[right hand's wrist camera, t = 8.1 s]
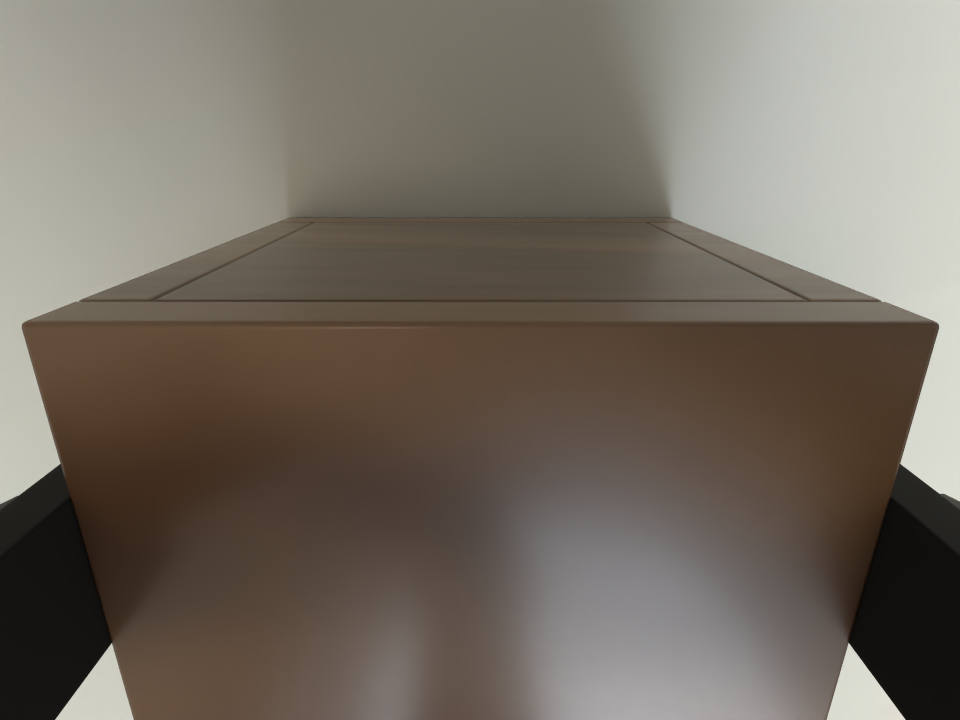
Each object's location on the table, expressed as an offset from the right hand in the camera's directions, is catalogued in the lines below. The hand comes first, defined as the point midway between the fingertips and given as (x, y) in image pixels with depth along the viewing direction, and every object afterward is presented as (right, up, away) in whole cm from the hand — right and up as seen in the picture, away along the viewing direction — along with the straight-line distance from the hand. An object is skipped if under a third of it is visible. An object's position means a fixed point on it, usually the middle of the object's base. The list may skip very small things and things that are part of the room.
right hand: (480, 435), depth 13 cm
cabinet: (0, -3, +8) cm, 8 cm away
